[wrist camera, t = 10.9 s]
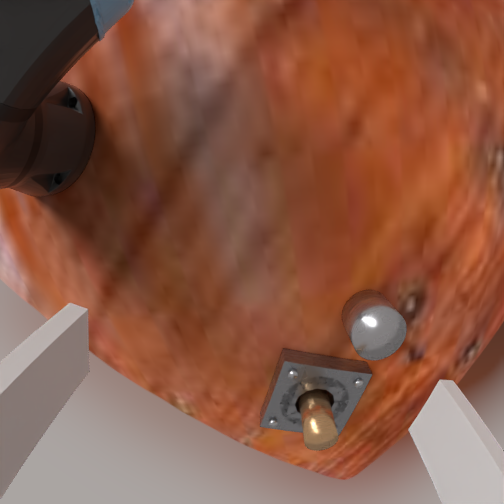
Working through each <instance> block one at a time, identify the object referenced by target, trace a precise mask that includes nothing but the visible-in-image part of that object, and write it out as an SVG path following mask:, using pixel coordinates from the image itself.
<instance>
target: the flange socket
mask: <svg viewBox="0 0 504 504" xmlns="http://www.w3.org/2000/svg"><path fill="white" fill-rule="evenodd" d="M371 376H372V372H371V370H370V368H369V366H368V364H367V362H364V361H356V360H350V359H343V358H336V357H330V356H324V355H318V354H312V353H307V352H301V351H295V350H290V349H285V348H283V350H282V353H281V356H280V359H279V361H278V364H277V367H276V370H275V373H274V376H273V379H272V382H271V384H270V387H269V390H268V393H267V396H266V398H265V401H264V404H263V406H262V409H261V412H260V427H265V428H272V429H279V430H286V431H294V432H303V428H302V421H301V413H300V406H299V400H298V397H299V396H300V395H302V394H303V393H304V392H306V391H309V390H313V389H324V390H327V391H329V394H328V397H329V401H330V405H331V409H332V413H333V417H334V421H335V425H336V429H337V433H338V436H339V434H340V433H341V431H342V429H343V428H344V426H345V424H346V423H347V421H348V419H349V417H350V416H351V414H352V412H353V410H354V409H355V407H356V405H357V403H358V401H359V399H360V398H361V396H362V394H363V392H364V390H365V388H366V386H367V384H368V382H369V380H370V378H371Z"/></svg>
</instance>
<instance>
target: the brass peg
mask: <svg viewBox="0 0 504 504" xmlns="http://www.w3.org/2000/svg"><path fill="white" fill-rule="evenodd" d="M298 399H299V406H300V413H301V421H302V428H303V436H304V443H305V446H306V447H307V448H308V449H311V450H316V451H318V450H325V449H328V448H330V447H332V446H333V445H334V444H335V443H336V442H337V441H338V433H337V429H336V425H335V421H334V417H333V413H332V409H331V405H330V401H329V397H328V394H327V390H324V389H313V390H309V391H306V392H304V393H303V394H302V395H300V396H299V397H298Z"/></svg>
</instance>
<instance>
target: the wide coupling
mask: <svg viewBox="0 0 504 504" xmlns="http://www.w3.org/2000/svg"><path fill="white" fill-rule="evenodd" d="M342 322H343V325H344V327H345V329H346V331H347V333H348V335H349V337H350V340H351V342H352V344H353V346H354V348H355V350H356V352H357V353H358V354H359V355H360V356H361V357H363V358H365V359H368V360H380V359H383V358H386V357H388V356H390V355H391V354H393V353H394V352H395V351H396V350H397V349H398V348H399V347H400V346H401V344H402V343H403V341H404V339H405V336H406V323H405V320H404V318H403V317H402V316H401V315H400V314H399V312H398V311H397V310H396V309H395V308H394V307H393V305H392V304H391V303H390V302H389V301H388V300H387V299H386V297H385V296H384V295H383V294H381V293H380V292H378V291H375V290H364V291H361V292H358V293H356V294H355V295H353V296H352V297H351V298H350V299H349V300H348V301H347V302H346V304H345V306H344V308H343V311H342Z"/></svg>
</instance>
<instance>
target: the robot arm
mask: <svg viewBox="0 0 504 504" xmlns="http://www.w3.org/2000/svg"><path fill="white" fill-rule="evenodd" d="M133 2H134V0H0V189H2V188H11V189H14V190H16V191H19V192H22V193H25V194H28V195H31V196H46V195H52V194H56V193H59V192H61V191H63V190H65V189H66V188H68V187H69V186H70V185H72V184H73V183H74V182H75V181H76V179H77V178H78V177H79V176H80V174H81V173H82V171H83V170H84V168H85V166H86V164H87V162H88V160H89V158H90V155H91V152H92V148H93V144H94V137H95V119H94V113H93V110H92V107H91V104H90V102H89V100H88V98H87V97H86V96H85V94H84V93H83V92H82V91H81V90H80V89H78V88H77V87H75V86H73V85H70V84H67V83H64V82H61V81H60V80H61V79H62V78H63V76H64V75H65V74H66V73H67V72H68V71H69V70H70V69H71V68H72V67H73V66H74V65H75V63H76V62H77V61H78V60H79V59H80V58H81V57H82V56H83V55H84V54H85V53H86V52H87V51H88V50H89V49H90V48H91V47H92V46H93V45H94V44H95V43H97V42H98V41H101V40H102V39H103V38H104V36H105V33H106V32H107V31H108V30H109V29H110V28H111V27H112V26H113V25H114V24H115V23H116V22H117V21H118V20H119V19H121V18H122V17H123V16H124V15H125V14H126V13H127V12H128V11H129V10H130V8H131V7H132V5H133ZM88 373H89V346H88V309H86V308H84V307H81V306H78V305H75V304H72V303H69V304H68V305H67V306H65V307H64V308H63V309H62V310H60V311H59V312H58V313H57V314H55V315H54V316H53V317H52V318H51V319H49V320H48V321H47V322H46V323H45V324H43V325H42V326H41V327H40V328H39V329H37V330H36V331H35V332H34V333H33V334H31V335H30V336H29V337H28V338H27V339H26V340H25V341H23V342H22V343H21V344H20V345H19V346H18V347H16V348H15V349H14V350H13V351H12V352H11V353H9V354H8V355H7V356H6V357H5V358H4V359H3V360H2V361H1V362H0V499H1V498H2V496H3V495H4V493H5V492H6V490H7V489H8V487H9V485H10V484H11V482H12V481H13V479H14V478H15V476H16V475H17V473H18V471H19V470H20V468H21V467H22V465H23V464H24V462H25V461H26V459H27V457H28V456H29V455H30V453H31V452H32V451H33V449H34V447H35V446H36V444H37V443H38V442H39V440H40V439H41V437H42V436H43V434H44V433H45V432H46V430H47V429H48V427H49V426H50V424H51V423H52V422H53V420H54V419H55V418H56V416H57V415H58V413H59V412H60V410H61V409H62V408H63V406H64V405H65V403H66V402H67V401H68V399H69V398H70V397H71V395H72V394H73V392H74V391H75V390H76V389H77V387H78V386H79V385H80V383H81V382H82V381H83V379H84V378H85V377H86V375H87V374H88ZM408 430H409V432H410V434H411V436H412V438H413V440H414V443H415V445H416V447H417V449H418V451H419V453H420V456H421V458H422V460H423V462H424V464H425V466H426V469H427V471H428V473H429V475H430V478H431V480H432V482H433V484H434V487H435V489H436V491H437V493H438V496H439V498H440V500H441V503H442V504H504V450H503V449H502V448H501V446H500V445H499V443H498V442H497V440H496V439H495V437H494V436H493V435H492V434H491V432H490V430H489V429H488V427H487V426H486V425H485V423H484V422H483V420H482V419H481V418H480V416H479V415H478V413H477V412H476V411H475V410H474V408H473V407H472V405H471V404H470V403H469V401H468V400H467V399H466V397H465V396H464V394H463V393H462V392H461V391H460V389H459V388H458V387H457V385H456V384H455V383H454V381H453V380H439V382H438V383H437V385H436V387H435V388H434V390H433V392H432V394H431V395H430V397H429V398H428V400H427V402H426V403H425V405H424V406H423V408H422V410H421V411H420V413H419V414H418V416H417V417H416V419H415V420H414V422H413V423H412V425H411V426H410V428H409V429H408Z"/></svg>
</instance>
